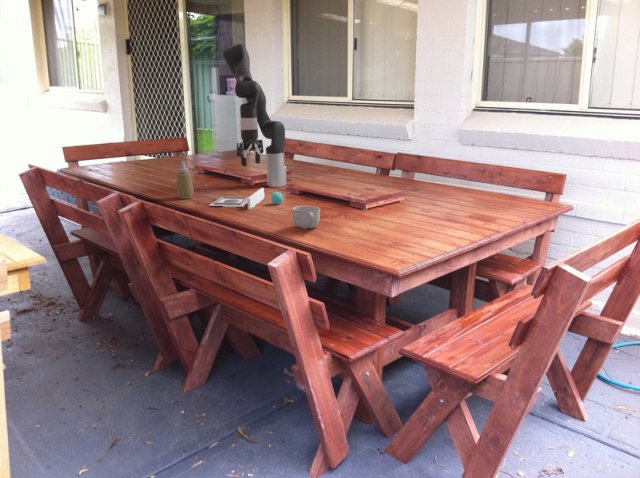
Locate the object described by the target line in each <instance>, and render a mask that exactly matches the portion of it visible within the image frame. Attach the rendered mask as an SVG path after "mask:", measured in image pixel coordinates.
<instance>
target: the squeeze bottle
mask: <svg viewBox="0 0 640 478" xmlns="http://www.w3.org/2000/svg"><path fill="white" fill-rule="evenodd" d="M194 190H195V189H194V184H193V180H192V174H191V173H190V172H189V168H188V167H186V164H185V161H184V160H181V163H180V168H179V169H178V173H176V193H177V195H178V197H179V199H180V198H181V200H189V199H192V198H193V195H194V192H195V191H194Z"/></svg>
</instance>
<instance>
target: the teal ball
mask: <svg viewBox="0 0 640 478" xmlns="http://www.w3.org/2000/svg"><path fill="white" fill-rule="evenodd" d="M270 200H271V202H272V204H274V205H280V204H282V202H283V201H284V197H283V194H282V193H281V192H278V191H275V192H273V193H271V196H270Z"/></svg>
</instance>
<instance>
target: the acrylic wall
mask: <svg viewBox="0 0 640 478" xmlns="http://www.w3.org/2000/svg"><path fill="white" fill-rule="evenodd" d="M248 197H249V198H247V201H248V204H247V210H249V209H251V208H252V207H253V208H255V205H256V204H257V205H259V203H260V202H262V201H263V200H264V199H265V188H264V187H261V188H259V189H258V190H257V191H255V192H254V193H253V194H251V195H250V196H248ZM257 205H256V206H257ZM253 208H252V209H253ZM252 209H251V210H252Z"/></svg>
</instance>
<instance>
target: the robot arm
mask: <svg viewBox="0 0 640 478" xmlns="http://www.w3.org/2000/svg"><path fill="white" fill-rule="evenodd" d="M222 56H223V57H222V58H223V59H224V61H225V64H226V65H227V67H228V68H229V69H230V72H231V73H232V75H233V77H234V79H235V80H236V82H235V86H234V94H235V96H236V97H237V98H240V99H245V100H246V102H245V103H241V104H240V107H239V113H240V122H239V123H240V124H239V126H240V139H241V140H242V142H237V143H236V156H237V157H240V162H241V166H242V167H247V155H248V154H249V152H253V153H254V154H255V155H254V157H255V158H254V159H255V160H254V161H255V162H254V163H255V164H261V154H264V141H263V139H259V129H260V132H261V134H262V136H263V137H264V138H265V139H267V140H271V141H270V145H268V146H266V147H265V157H266V158H265V160H266V161H265V162H266V175H267V176H266V178H267V179H266V180H267V181H266V182H267V183H266V184H267V186H268V187H271V188H280V187H284V186H286V185H287V183H288V182H287V167H286V166H285V147H286V129H285V124H283V122H281V121H277V120H272V119H271V118H270V116H269V114H268V112H267V98H266V94H265V92H264V91H263V88H262V86H261V84H259V83H258V82H257V80H253V77H252V73H251V71H250V70H251V65H250V64H251V63H250V55H249V52H248V50H247V48H246V46H245V45H244V44H243V43H237V44H235V45H233V46H231V47H228V48H226V49H225V50H223V52H222Z"/></svg>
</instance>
